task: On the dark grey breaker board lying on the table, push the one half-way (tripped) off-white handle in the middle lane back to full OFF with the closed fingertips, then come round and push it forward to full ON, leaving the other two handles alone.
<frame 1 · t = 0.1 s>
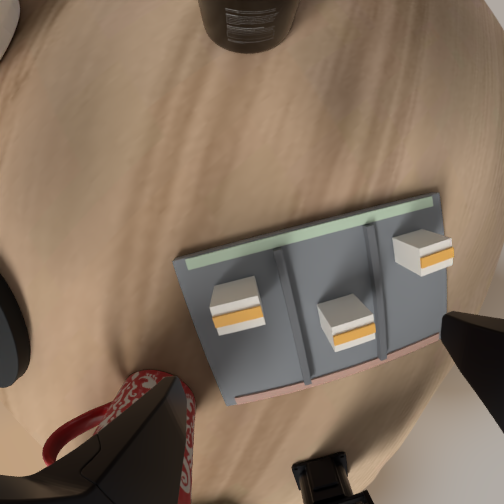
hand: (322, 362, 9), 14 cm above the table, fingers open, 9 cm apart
breaker 2: (237, 304, 20), point 3 cm above the table, slide at 3.5 cm
mug: (142, 394, 26), on the table
panel: (332, 304, 24), on the table
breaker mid: (345, 321, 21), point 3 cm above the table, slide at 0.0 cm
supplement bottle: (246, 23, 19), on the table
breaker 1: (422, 251, 20), point 3 cm above the table, slide at 3.5 cm
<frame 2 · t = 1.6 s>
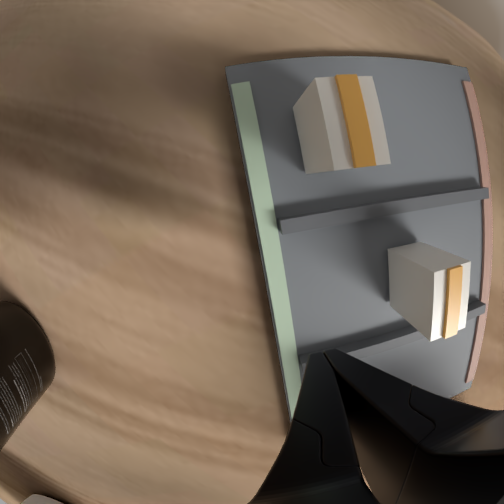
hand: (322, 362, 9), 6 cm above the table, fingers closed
panel: (394, 267, 15), on the table
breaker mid: (427, 287, 12), point 3 cm above the table, slide at 0.0 cm
supplement bottle: (21, 343, 15), on the table
breaker 1: (336, 129, 10), point 3 cm above the table, slide at 3.5 cm
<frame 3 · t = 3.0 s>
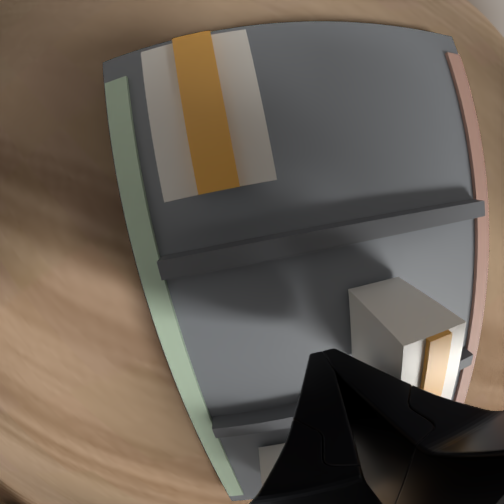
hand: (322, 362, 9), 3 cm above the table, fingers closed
breaker 2: (289, 493, 10), point 3 cm above the table, slide at 3.5 cm
panel: (344, 312, 11), on the table
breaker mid: (401, 347, 8), point 3 cm above the table, slide at -0.9 cm, touching gripper
breaker 1: (212, 127, 7), point 3 cm above the table, slide at 3.5 cm
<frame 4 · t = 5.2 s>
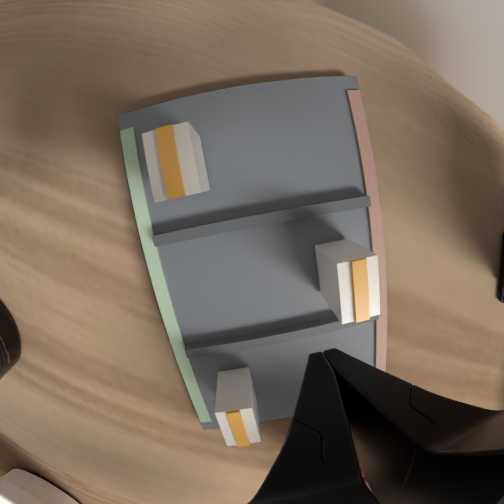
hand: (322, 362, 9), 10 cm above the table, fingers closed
breaker 2: (238, 407, 17), point 3 cm above the table, slide at 3.5 cm
panel: (271, 273, 18), on the table
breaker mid: (346, 278, 15), point 3 cm above the table, slide at -3.5 cm
bowl: (51, 493, 25), on the table
breaker 1: (179, 164, 13), point 3 cm above the table, slide at 3.5 cm
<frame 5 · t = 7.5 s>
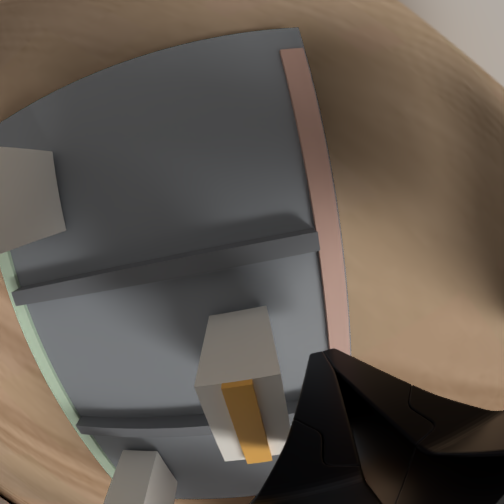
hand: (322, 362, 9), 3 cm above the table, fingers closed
breaker 2: (143, 496, 10), point 3 cm above the table, slide at 3.5 cm
panel: (172, 343, 12), on the table
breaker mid: (247, 381, 9), point 3 cm above the table, slide at -3.0 cm, touching gripper
breaker 1: (4, 203, 7), point 3 cm above the table, slide at 3.5 cm
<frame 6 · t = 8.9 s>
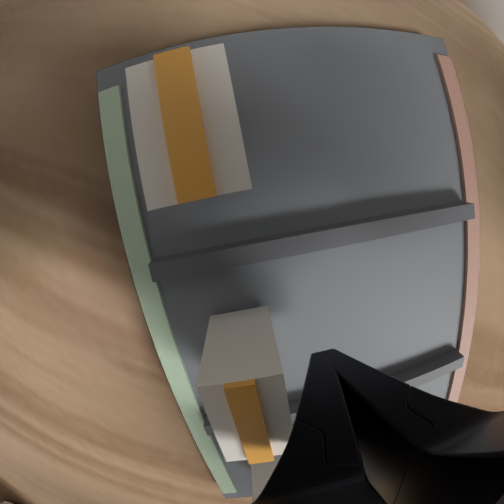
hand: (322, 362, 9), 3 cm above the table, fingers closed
breaker 2: (280, 491, 10), point 3 cm above the table, slide at 3.5 cm
panel: (333, 314, 12), on the table
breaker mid: (248, 382, 9), point 3 cm above the table, slide at 3.5 cm, touching gripper
breaker 1: (197, 136, 7), point 3 cm above the table, slide at 3.5 cm
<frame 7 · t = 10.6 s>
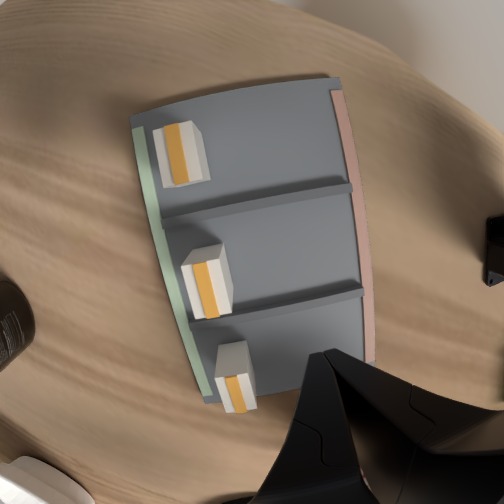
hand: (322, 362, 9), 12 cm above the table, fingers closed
breaker 2: (236, 376, 19), point 3 cm above the table, slide at 3.5 cm
panel: (266, 253, 20), on the table
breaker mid: (210, 278, 17), point 3 cm above the table, slide at 3.5 cm
bowl: (57, 481, 28), on the table
supplement bottle: (13, 312, 21), on the table
breaker 1: (184, 157, 16), point 3 cm above the table, slide at 3.5 cm
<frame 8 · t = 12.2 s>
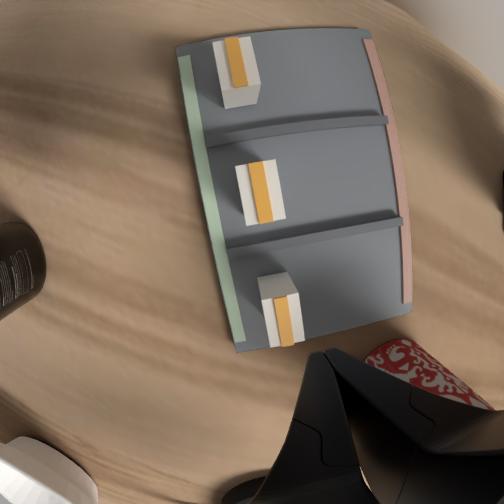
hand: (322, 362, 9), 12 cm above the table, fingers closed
breaker 2: (279, 307, 18), point 3 cm above the table, slide at 3.5 cm
mug: (381, 386, 24), on the table
panel: (307, 181, 20), on the table
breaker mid: (258, 191, 17), point 3 cm above the table, slide at 3.5 cm
bowl: (56, 465, 27), on the table
supplement bottle: (22, 259, 20), on the table
lamp: (272, 503, 28), on the table
breaker 1: (236, 74, 15), point 3 cm above the table, slide at 3.5 cm
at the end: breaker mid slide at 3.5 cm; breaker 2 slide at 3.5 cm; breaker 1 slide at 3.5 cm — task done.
